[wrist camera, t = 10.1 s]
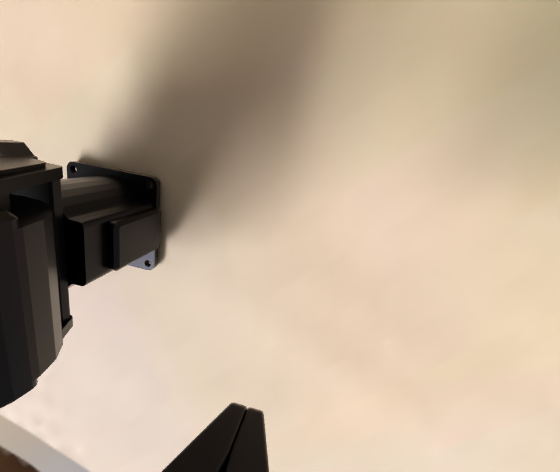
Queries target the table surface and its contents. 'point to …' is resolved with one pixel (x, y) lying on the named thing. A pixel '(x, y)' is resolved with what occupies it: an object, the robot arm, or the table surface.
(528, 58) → the table surface
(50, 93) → the table surface
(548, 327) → the table surface
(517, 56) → the table surface
